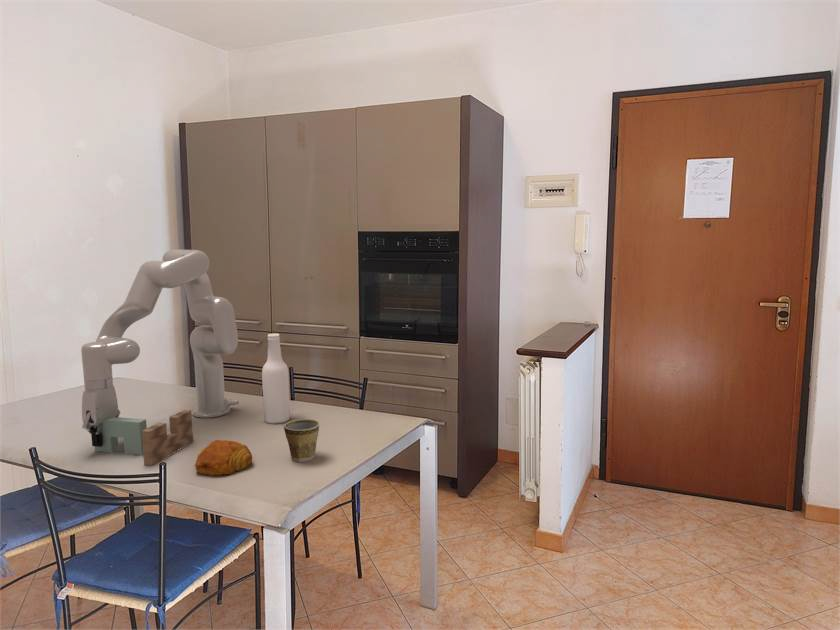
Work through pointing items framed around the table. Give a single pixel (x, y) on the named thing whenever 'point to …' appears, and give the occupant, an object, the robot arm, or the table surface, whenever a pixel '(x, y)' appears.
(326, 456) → the table surface
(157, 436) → the walnut slotted plate
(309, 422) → the ceramic cup
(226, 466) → the croissant
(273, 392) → the alcohol
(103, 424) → the green slotted plate
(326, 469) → the table surface
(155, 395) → the table surface
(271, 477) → the table surface
